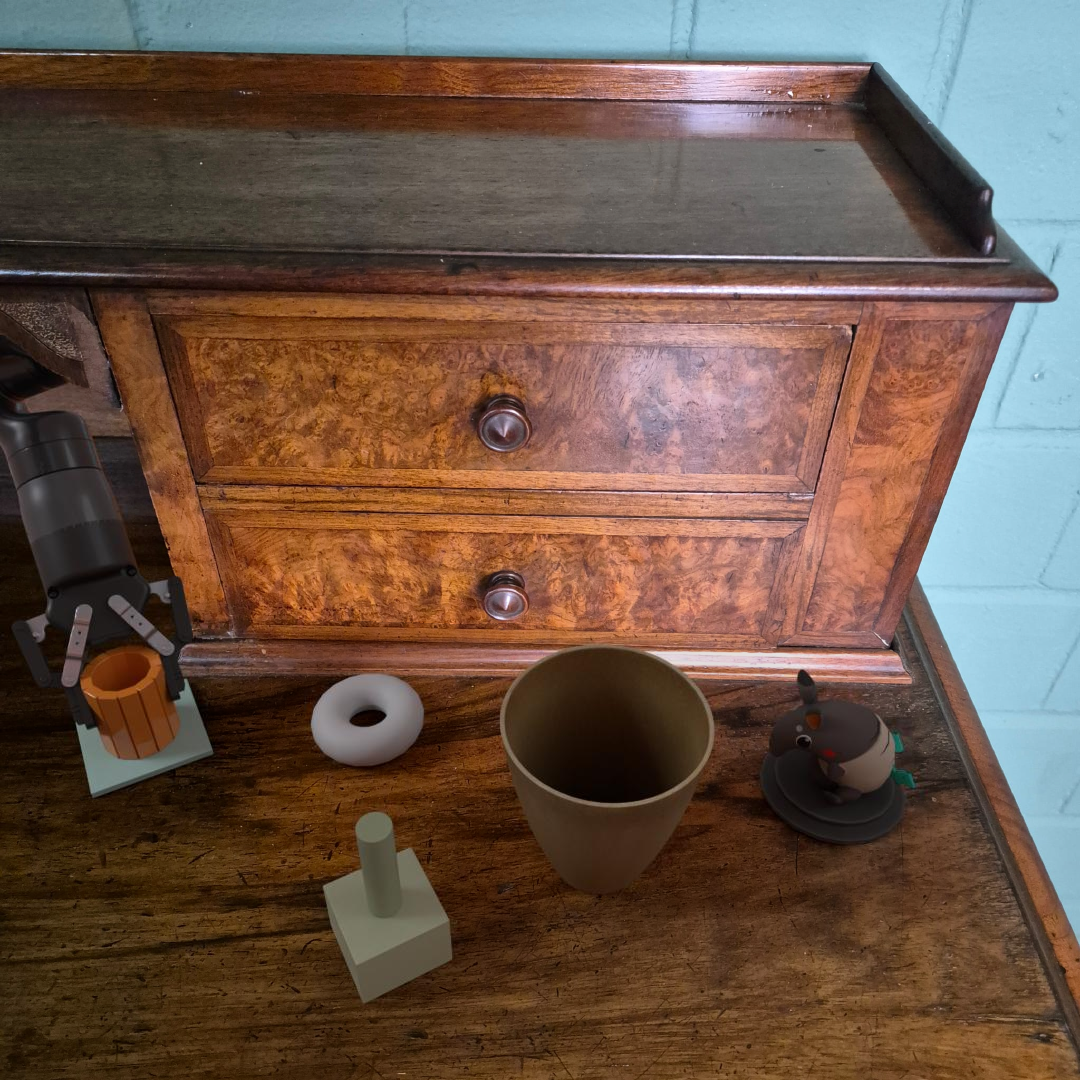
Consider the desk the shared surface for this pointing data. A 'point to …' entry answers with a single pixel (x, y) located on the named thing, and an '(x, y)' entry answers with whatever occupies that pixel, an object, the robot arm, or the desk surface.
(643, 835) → the plant pot
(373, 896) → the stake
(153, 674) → the pen holder
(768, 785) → the figurine
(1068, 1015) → the desk surface
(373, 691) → the donut
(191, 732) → the mat
